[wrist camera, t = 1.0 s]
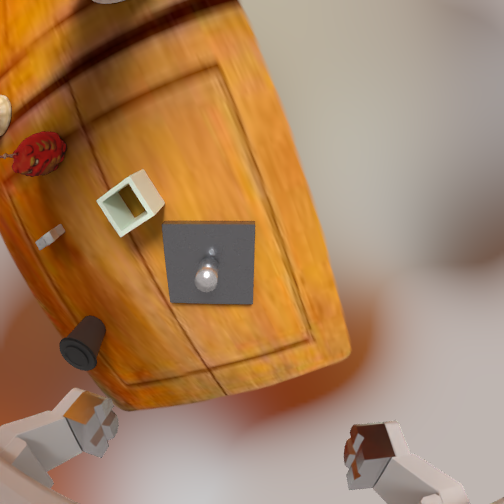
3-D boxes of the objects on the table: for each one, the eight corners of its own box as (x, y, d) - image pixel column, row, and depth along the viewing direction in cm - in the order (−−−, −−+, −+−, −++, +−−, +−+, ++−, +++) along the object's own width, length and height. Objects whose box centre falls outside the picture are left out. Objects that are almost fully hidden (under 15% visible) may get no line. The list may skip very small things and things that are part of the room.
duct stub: (164, 221, 45) (152, 236, 39) (254, 221, 46) (256, 236, 40) (172, 297, 51) (164, 319, 45) (252, 299, 51) (253, 322, 45)
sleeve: (112, 190, 43) (96, 200, 37) (143, 168, 42) (129, 175, 36) (133, 223, 45) (120, 237, 40) (165, 203, 44) (154, 215, 38)
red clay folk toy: (52, 180, 41) (-5, 206, 27) (30, 154, 39) (-28, 172, 25) (75, 146, 39) (17, 162, 26) (52, 120, 37) (-8, 128, 23)
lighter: (52, 240, 46) (28, 259, 38) (47, 233, 45) (23, 251, 38) (76, 224, 45) (52, 242, 37) (71, 215, 44) (46, 232, 37)
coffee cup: (70, 314, 52) (49, 345, 43) (97, 305, 51) (76, 338, 42) (91, 344, 56) (74, 376, 46) (118, 337, 55) (102, 371, 45)
